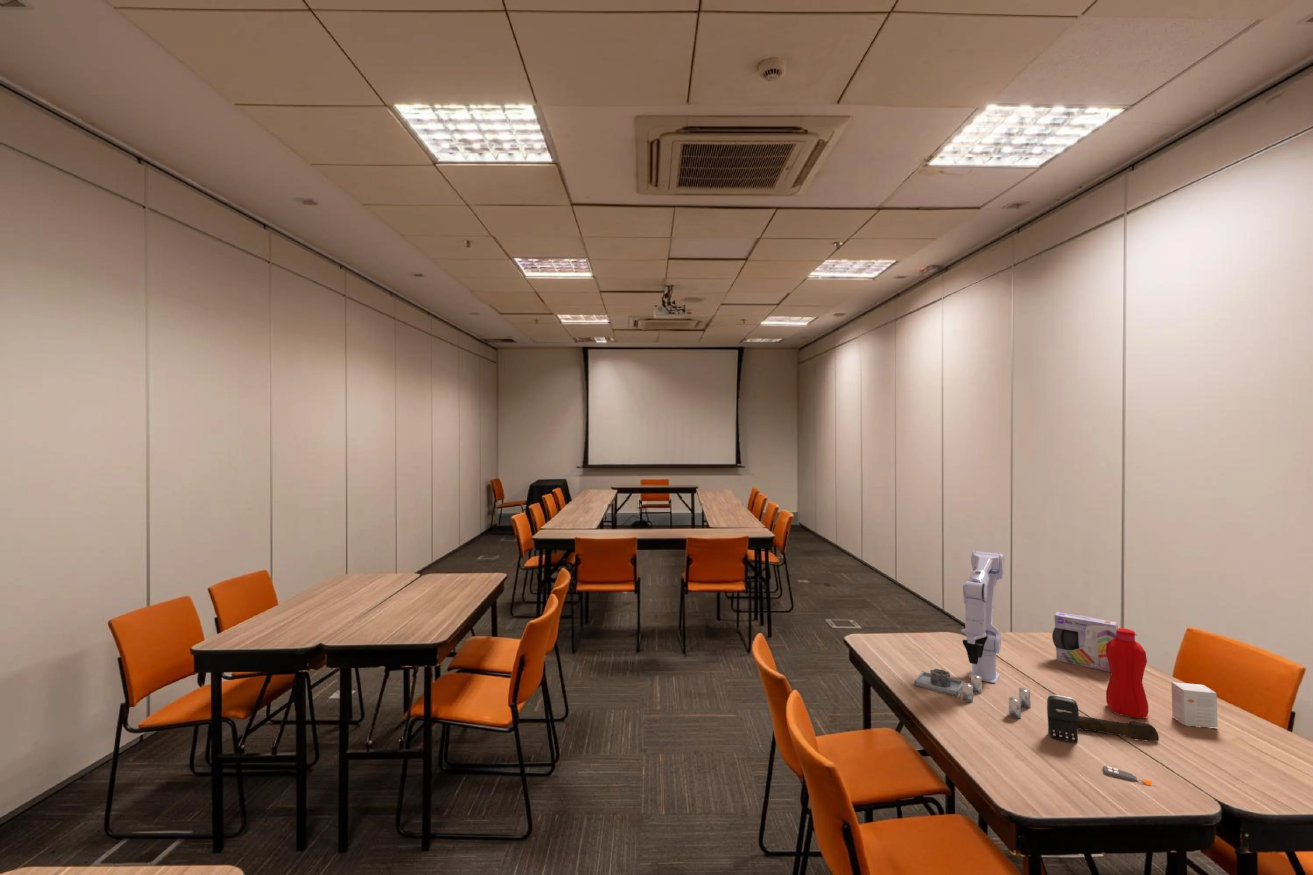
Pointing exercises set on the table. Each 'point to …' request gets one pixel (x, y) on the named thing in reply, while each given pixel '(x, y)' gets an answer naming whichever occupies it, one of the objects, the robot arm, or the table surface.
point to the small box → (1194, 705)
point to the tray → (925, 682)
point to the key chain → (1122, 775)
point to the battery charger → (1062, 718)
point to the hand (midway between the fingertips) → (975, 660)
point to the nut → (940, 678)
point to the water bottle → (1126, 675)
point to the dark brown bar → (1120, 728)
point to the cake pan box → (1082, 640)
